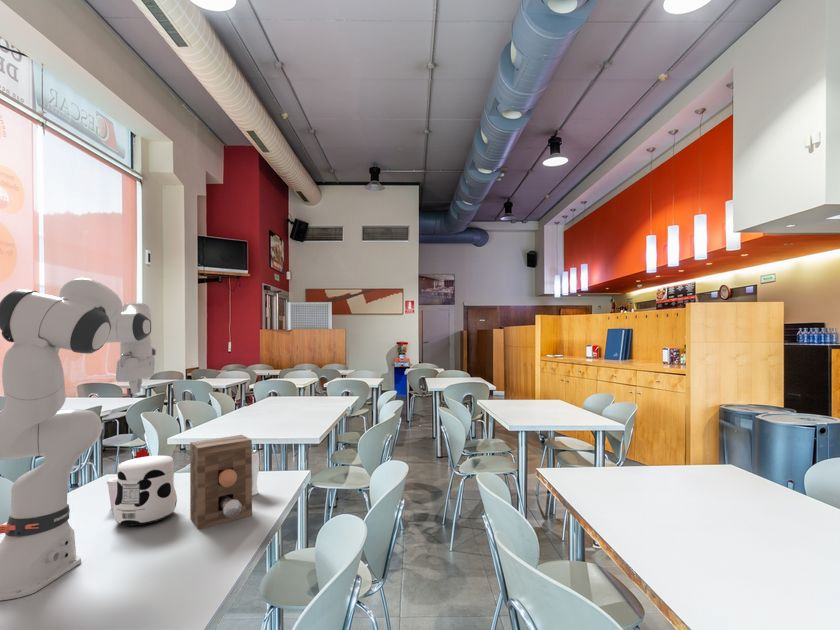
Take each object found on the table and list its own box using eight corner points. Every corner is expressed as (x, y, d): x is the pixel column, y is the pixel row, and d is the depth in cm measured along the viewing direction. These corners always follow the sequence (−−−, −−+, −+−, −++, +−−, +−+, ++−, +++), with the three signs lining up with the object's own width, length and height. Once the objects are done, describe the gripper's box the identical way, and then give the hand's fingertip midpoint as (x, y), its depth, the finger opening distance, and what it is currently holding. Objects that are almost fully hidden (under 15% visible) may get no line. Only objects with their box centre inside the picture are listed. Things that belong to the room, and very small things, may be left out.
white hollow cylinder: (238, 492, 170) (238, 451, 170) (258, 489, 173) (258, 449, 173) (239, 498, 163) (239, 455, 164) (260, 495, 166) (260, 453, 167)
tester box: (252, 515, 148) (251, 439, 149) (198, 529, 138) (197, 448, 139) (242, 506, 156) (241, 434, 157) (190, 519, 146) (190, 442, 147)
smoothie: (133, 503, 160) (133, 463, 161) (119, 511, 154) (119, 468, 154) (116, 503, 161) (116, 463, 161) (101, 510, 154) (101, 468, 155)
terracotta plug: (237, 485, 143) (237, 468, 143) (219, 488, 140) (219, 471, 140) (229, 478, 150) (229, 462, 150) (212, 482, 146) (211, 465, 147)
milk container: (172, 504, 159) (172, 451, 160) (181, 520, 145) (181, 462, 146) (111, 517, 149) (112, 460, 149) (115, 535, 135) (115, 473, 135)
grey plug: (241, 515, 139) (241, 498, 140) (223, 520, 136) (223, 502, 136) (233, 507, 146) (233, 490, 146) (215, 511, 143) (215, 494, 143)
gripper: (132, 352, 145) (131, 396, 144) (158, 350, 165) (158, 389, 165) (110, 353, 144) (109, 397, 143) (139, 350, 164) (138, 389, 164)
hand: (135, 393), depth 154 cm, fingers closed
